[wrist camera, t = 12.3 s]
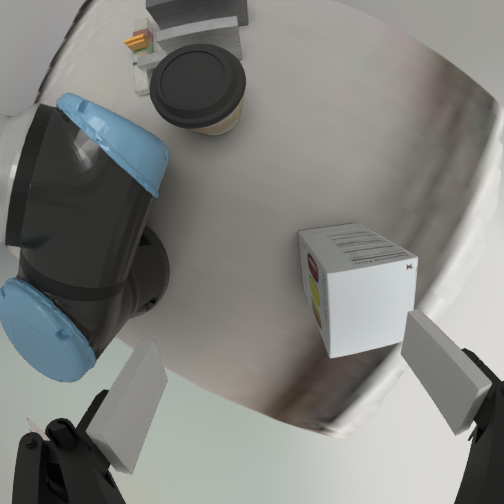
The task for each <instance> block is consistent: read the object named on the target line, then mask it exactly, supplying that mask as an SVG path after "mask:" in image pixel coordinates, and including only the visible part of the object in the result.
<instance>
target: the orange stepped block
mask: <svg viewBox="0 0 504 504" xmlns="http://www.w3.org/2000/svg"><path fill="white" fill-rule="evenodd" d="M124 43H125V44H126V45H127V46H128V47H129V48H130V49H131V50H132V51H135V50H138V49H141V48H145V47H148V46H149V39H148V38H147V37H146V36H145V35H144V34H141V35H138V36H135V37H132V38H129V39H126V40H124Z"/></svg>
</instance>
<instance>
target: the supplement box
mask: <svg viewBox="0 0 504 504" xmlns="http://www.w3.org/2000/svg"><path fill="white" fill-rule="evenodd" d="M298 236H299V246H300V256H301V267H302V277H303V287H304V291H305V294H306V297H307V299H308V302H309V304H310V307H311V309H312V312H313V315H314V317H315V320H316V322H317V325H318V328H319V330H320V333H321V336H322V338H323V341H324V344H325V346H326V349H327V352H328V355H329V357H330V358H335V357H341V356H346V355H350V354H355V353H359V352H363V351H367V350H371V349H376V348H380V347H384V346H388V345H391V344H395V343H398V342H402V341H403V339H404V333H405V327H406V320H407V313H408V311H413V310H414V300H415V288H416V277H417V265H418V257H417V256H415V255H414V254H412V253H410V252H409V251H407V250H405V249H404V248H402V247H400V246H398V245H397V244H395V243H393V242H391V241H390V240H388V239H386V238H384V237H382V236H381V235H379V234H377V233H375V232H373V231H371V230H370V229H368V228H366V227H364V226H362V225H361V224H359V223H353V224H345V225H338V226H330V227H323V228H316V229H309V230H302V231H298Z"/></svg>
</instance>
